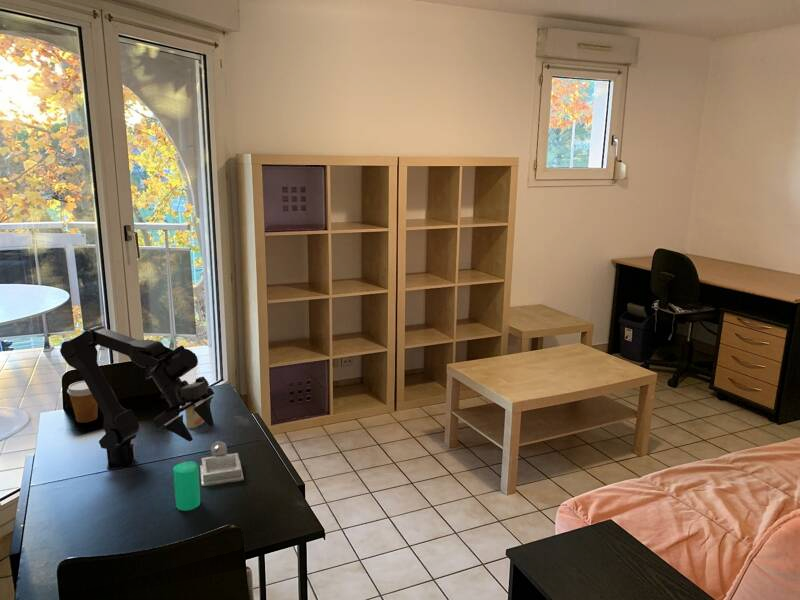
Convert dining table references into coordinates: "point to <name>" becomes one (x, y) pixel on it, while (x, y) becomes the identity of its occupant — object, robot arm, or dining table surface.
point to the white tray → (220, 466)
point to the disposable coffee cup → (83, 402)
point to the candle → (187, 485)
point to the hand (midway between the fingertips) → (202, 433)
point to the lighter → (193, 418)
